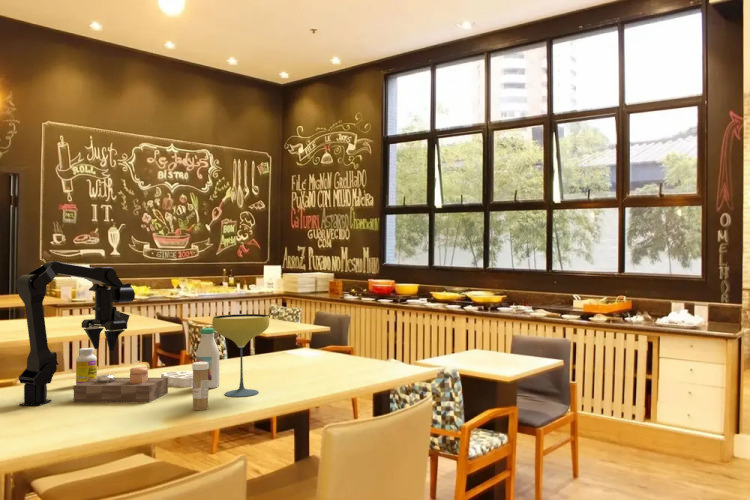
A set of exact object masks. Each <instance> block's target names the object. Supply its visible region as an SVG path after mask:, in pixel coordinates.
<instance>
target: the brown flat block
mask: <svg viewBox="0 0 750 500" xmlns="http://www.w3.org/2000/svg"><path fill="white" fill-rule="evenodd" d="M114 380H115V381H113V382H111V383H96V382H97V378H95V379H92V380H89V381H86V382H84V383H81V384H78V385H73V403H151V402H153V401H155V400H157V399H159V398H160V397H163V396H165V395H166V394H168V393H169V385H168V378H161V377H148V381H147V382H144V383H130V377H114Z"/></svg>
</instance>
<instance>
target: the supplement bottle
mask: <svg viewBox="0 0 750 500" xmlns="http://www.w3.org/2000/svg"><path fill="white" fill-rule="evenodd" d="M94 351H95V348H94V347H83V348H79V351H78V352H79V356H77V357H76V359H75V364H76V365H75V384H76V385H78V384H81V383H84V382H86V381H89V380H92V379H95V378H97V376H98V374H97V373H98V371H97V370H98V369H97V367H98V366H97V365H98V363H97V361H98V357H97V356H96V355H95V354H94Z"/></svg>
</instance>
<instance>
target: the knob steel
mask: <svg viewBox="0 0 750 500" xmlns="http://www.w3.org/2000/svg"><path fill="white" fill-rule="evenodd" d="M114 378H115V374H100V375H97V382H96V383H111V382H113V381H115V380H114Z"/></svg>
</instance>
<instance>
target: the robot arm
mask: <svg viewBox="0 0 750 500" xmlns="http://www.w3.org/2000/svg"><path fill="white" fill-rule="evenodd" d="M57 275H59V276H66V277H67V276H68V277H74V278H80V279H84V280H87V281H89V282H91V283H94V284H93V285H92V286H90V287H89V289H88V291H89V292H94V306H92V311H94V318H89V319H83V320H82V321H81V329H83V331H84V332H85V334H87V337H88V338H89V340H90V342H91V344H92V346H93V348H94V350H98V349H99V348H100V347H99V346H100V341H101V339H100V338H101V332H102V331H104V336H105V339H106V343H107V347H108V349H109V352H113V351H114V350H115V348H116V343H117V341H118V339H119V336H120V335H121V334H122V333H123V332H125V330H127V329H128V322H129V318H130V314H127V313H124V312H122V311H120V310H117V309H118V308H117V307H116V306H114V303H115V304H126V303H132V302H133V301H135V296H136V292H135V290H134V287H132V284H131V283H128V282H126V283H123V282H122V280H121V279H120V278H119V276H118V275H117V272H116V270H115V268H114V267H111V266H105V267H102V266H101V267H100V266H99V267H93V266H92V267H89V266H85V265H84V266H83V265H78V264H70V263H66V262H60V261H57V260H52V261H50V260H49V261H46V262H45V263H43V264H42V265H41V266H39V267H37V268H35V269H33V270H32V271H31V270H30V271H29V272H28V273H27V274H23V275H20V276H19V277H18V278H17V279H16V281H15V287H16V291H17V293H18V294H17V295H18V297H19V298H20V299H21V301H22V302H23V304H24V307H25V308H24V310H25V316H26V317H25V318H26V323H27V331H28V339H29V340H28V342H29V348H30V349H29V354H28V356H27V359H26V368H25V369H24V370H23V371H22V372H21V373H20V374H19V375H18V382H19V383H20V384H24V385H23V402H21V403H19V404H18V405H19V406H29V407H31V406H32V407H33V406H42V405H44V404H47V403H49V402H52V399H51V398H50V399H48V384H51V383H52V380H53V377H54V375H55V373H56V372H57V370H58V369H57V368H58V367H57V366H59V363H58V355H57V354H58V353H57V352H56V351H51V350H50V348H49V345H48V336H47V335H48V334H47V327H46V320H45V319H46V318H45V312H44V305H43V302H44V299H45V297H46V294H47V285H49V284H50V283H51V282H53V281H54V279H55V277H56V276H57ZM104 329H105V330H104Z"/></svg>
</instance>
